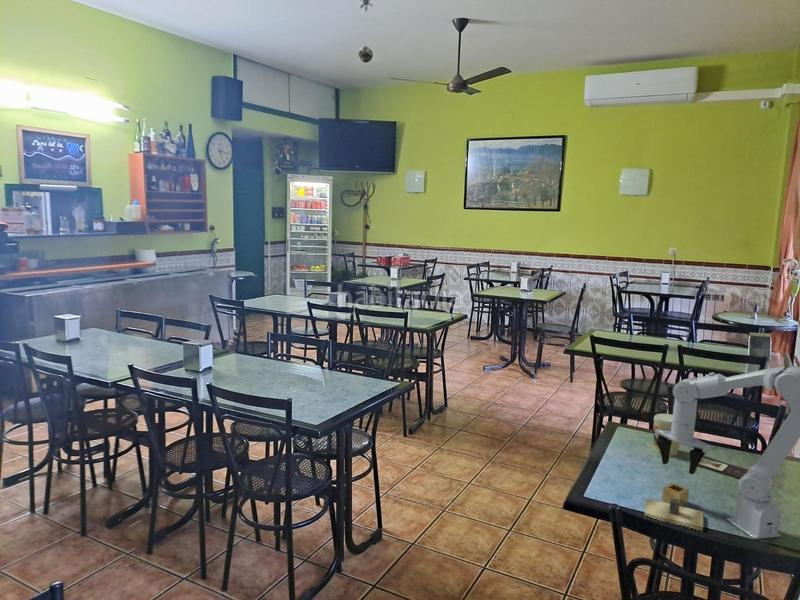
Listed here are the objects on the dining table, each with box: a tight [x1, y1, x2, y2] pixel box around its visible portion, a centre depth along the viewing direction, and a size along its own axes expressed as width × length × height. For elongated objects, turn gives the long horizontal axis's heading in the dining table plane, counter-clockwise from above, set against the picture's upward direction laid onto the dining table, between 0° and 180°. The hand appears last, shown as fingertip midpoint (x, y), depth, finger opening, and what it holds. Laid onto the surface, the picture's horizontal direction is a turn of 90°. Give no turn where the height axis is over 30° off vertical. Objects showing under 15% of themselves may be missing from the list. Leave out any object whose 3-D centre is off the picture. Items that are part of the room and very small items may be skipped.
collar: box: [661, 482, 690, 507], centre depth 164 cm, size 5×5×4 cm
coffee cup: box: [652, 413, 681, 457], centre depth 200 cm, size 9×9×12 cm
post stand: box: [643, 498, 704, 532], centre depth 156 cm, size 14×9×4 cm, turn 63°
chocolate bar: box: [697, 455, 749, 480], centre depth 187 cm, size 9×1×18 cm
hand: (678, 468), depth 163 cm, fingers open, 7 cm apart
